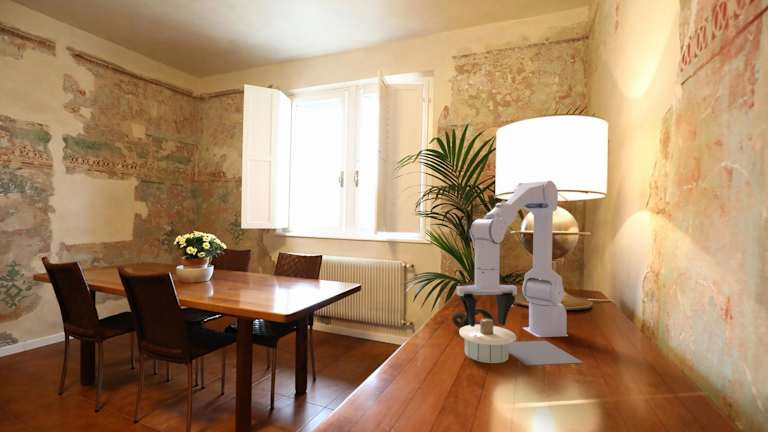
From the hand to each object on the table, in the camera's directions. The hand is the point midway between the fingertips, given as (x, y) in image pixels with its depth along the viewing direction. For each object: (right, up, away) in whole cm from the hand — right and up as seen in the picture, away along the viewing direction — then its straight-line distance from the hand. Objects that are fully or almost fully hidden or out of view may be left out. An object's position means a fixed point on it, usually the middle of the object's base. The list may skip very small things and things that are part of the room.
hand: (486, 324), depth 82 cm
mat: (+13, -8, +2) cm, 15 cm away
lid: (0, -3, 0) cm, 3 cm away
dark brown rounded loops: (+1, -8, +16) cm, 18 cm away
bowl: (0, -8, 0) cm, 8 cm away
